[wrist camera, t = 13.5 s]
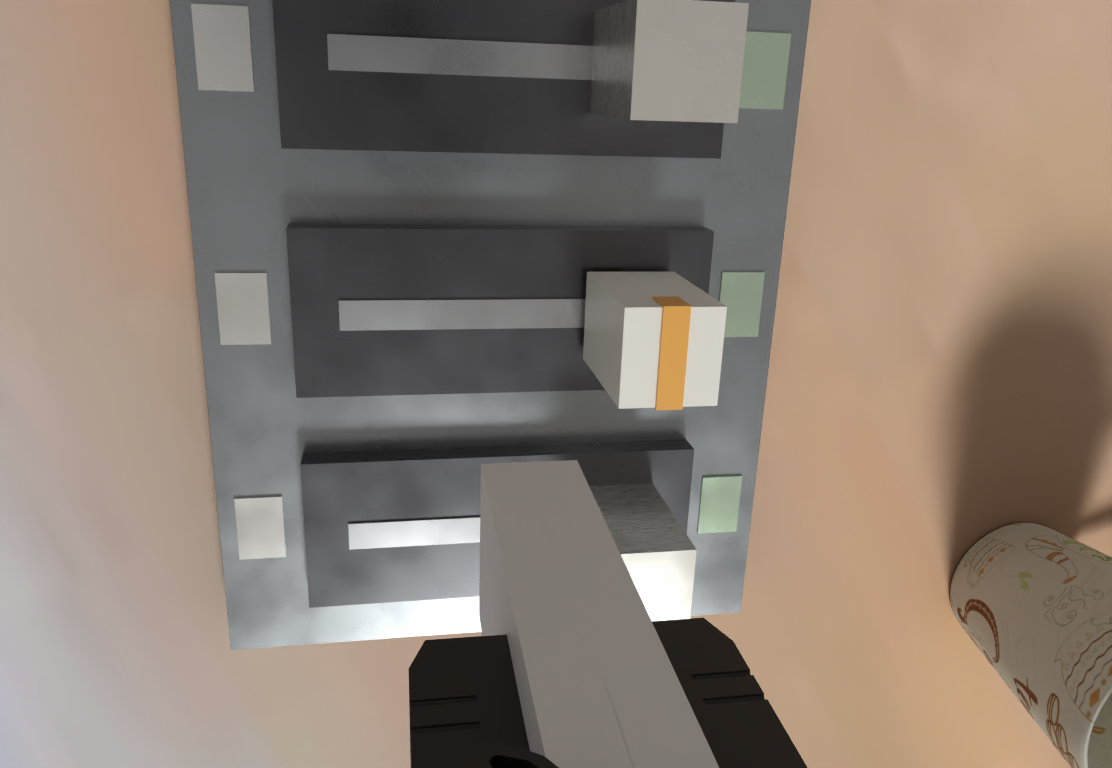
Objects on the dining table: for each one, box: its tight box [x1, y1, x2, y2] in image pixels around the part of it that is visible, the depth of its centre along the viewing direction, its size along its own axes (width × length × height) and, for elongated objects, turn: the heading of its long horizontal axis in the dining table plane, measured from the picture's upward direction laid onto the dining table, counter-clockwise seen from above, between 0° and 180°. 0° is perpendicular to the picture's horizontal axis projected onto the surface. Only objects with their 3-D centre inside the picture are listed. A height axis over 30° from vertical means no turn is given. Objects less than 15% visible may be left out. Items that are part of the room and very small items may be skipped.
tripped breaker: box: [583, 272, 727, 410], centre depth 28 cm, size 3×3×5 cm
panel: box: [170, 0, 811, 650], centre depth 29 cm, size 26×20×8 cm
